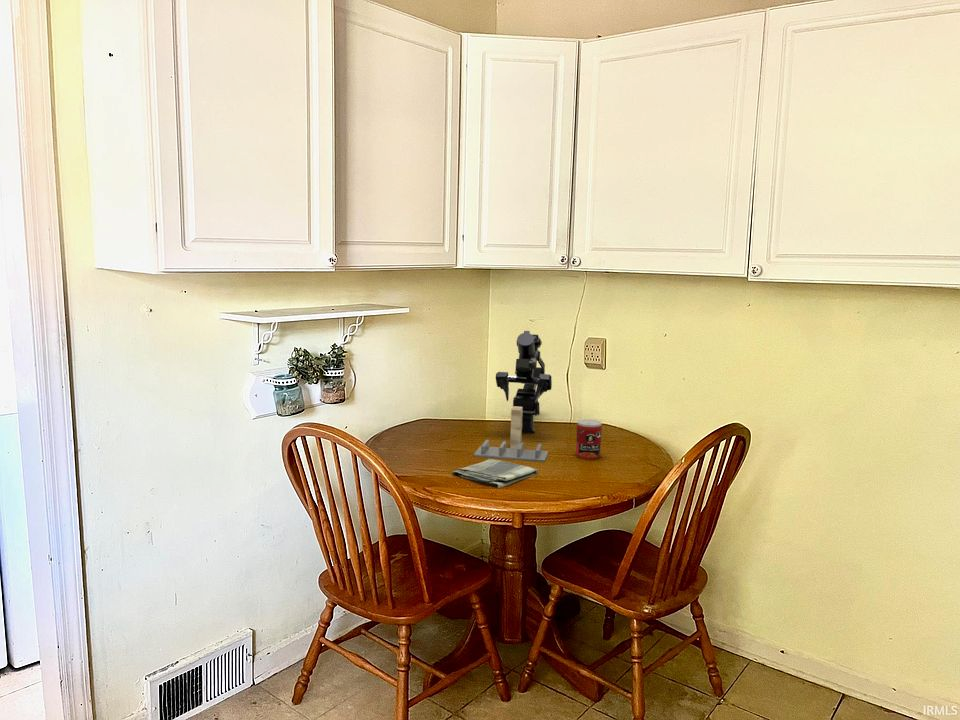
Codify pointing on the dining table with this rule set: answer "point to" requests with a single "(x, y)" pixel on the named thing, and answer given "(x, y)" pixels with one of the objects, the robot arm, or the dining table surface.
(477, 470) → the dish towel
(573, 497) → the dining table surface
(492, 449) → the slotted rack
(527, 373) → the robot arm
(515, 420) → the birch block
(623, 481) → the dining table surface
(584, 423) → the canned food
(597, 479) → the dining table surface
